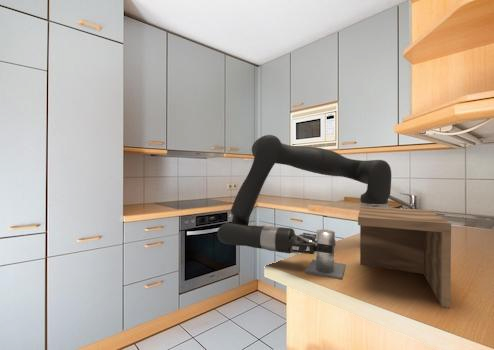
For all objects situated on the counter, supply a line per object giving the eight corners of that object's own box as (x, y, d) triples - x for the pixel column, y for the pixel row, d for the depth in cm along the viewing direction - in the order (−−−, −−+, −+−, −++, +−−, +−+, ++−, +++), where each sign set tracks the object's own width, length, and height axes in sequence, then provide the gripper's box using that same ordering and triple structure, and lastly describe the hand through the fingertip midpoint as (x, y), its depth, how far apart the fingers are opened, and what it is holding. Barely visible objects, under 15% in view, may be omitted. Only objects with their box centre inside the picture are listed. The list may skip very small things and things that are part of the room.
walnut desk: (360, 263, 81) (360, 206, 81) (429, 272, 73) (429, 210, 73) (357, 291, 62) (358, 216, 62) (450, 308, 54) (451, 223, 54)
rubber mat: (312, 261, 83) (312, 259, 83) (345, 265, 78) (345, 263, 78) (304, 273, 73) (304, 271, 73) (342, 279, 68) (342, 277, 68)
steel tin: (317, 265, 77) (318, 228, 77) (334, 268, 75) (335, 230, 75) (314, 271, 73) (314, 232, 72) (332, 274, 70) (333, 234, 70)
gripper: (269, 232, 73) (330, 238, 66) (284, 223, 86) (336, 227, 79) (269, 258, 73) (330, 267, 66) (284, 245, 86) (336, 251, 79)
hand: (333, 245), depth 73 cm, fingers open, 6 cm apart
